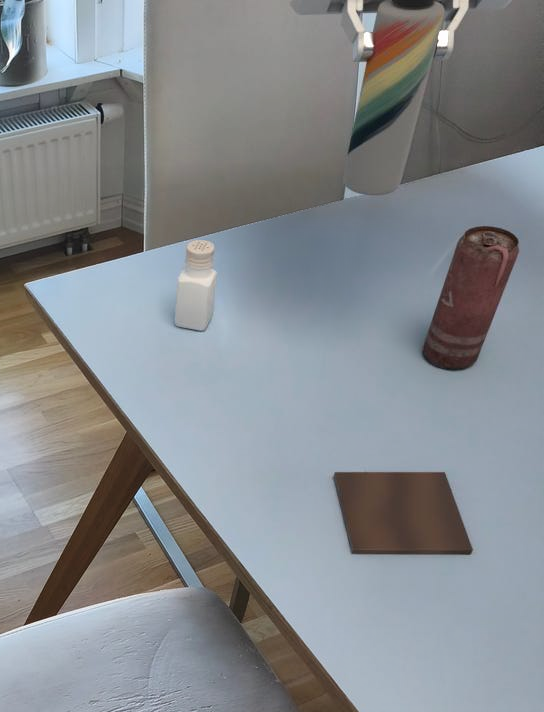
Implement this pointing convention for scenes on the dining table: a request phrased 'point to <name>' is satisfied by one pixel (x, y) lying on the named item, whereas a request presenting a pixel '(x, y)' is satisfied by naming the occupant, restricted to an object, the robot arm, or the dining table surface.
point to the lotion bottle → (392, 94)
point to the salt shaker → (196, 287)
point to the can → (470, 296)
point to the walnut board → (401, 513)
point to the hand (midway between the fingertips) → (402, 57)
